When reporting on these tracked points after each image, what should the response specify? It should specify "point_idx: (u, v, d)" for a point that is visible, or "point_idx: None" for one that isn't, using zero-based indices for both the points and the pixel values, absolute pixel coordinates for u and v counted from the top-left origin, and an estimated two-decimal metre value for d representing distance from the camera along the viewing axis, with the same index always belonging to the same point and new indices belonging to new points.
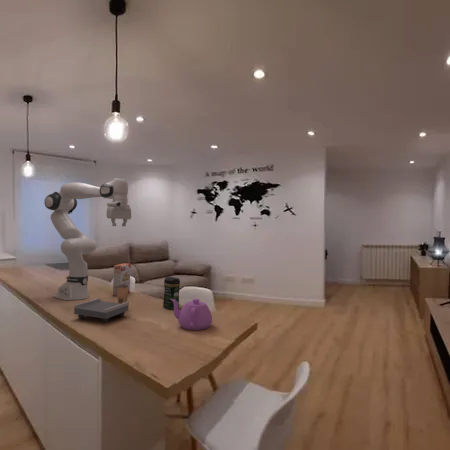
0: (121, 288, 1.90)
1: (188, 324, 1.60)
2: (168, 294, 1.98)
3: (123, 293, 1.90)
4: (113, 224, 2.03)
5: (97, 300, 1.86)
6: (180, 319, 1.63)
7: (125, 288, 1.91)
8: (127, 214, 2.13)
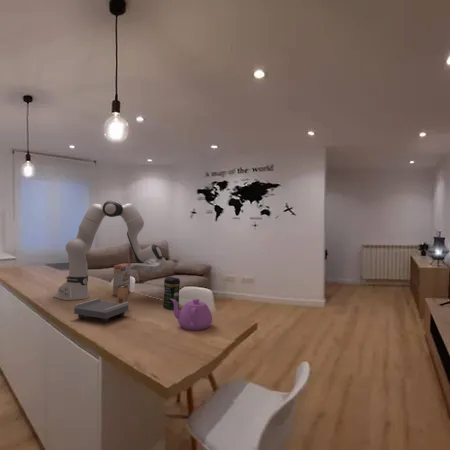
0: (121, 288, 1.90)
1: (188, 324, 1.60)
2: (168, 294, 1.98)
3: (123, 293, 1.90)
4: (146, 269, 2.05)
5: (97, 300, 1.86)
6: (180, 319, 1.63)
7: (125, 288, 1.91)
8: None
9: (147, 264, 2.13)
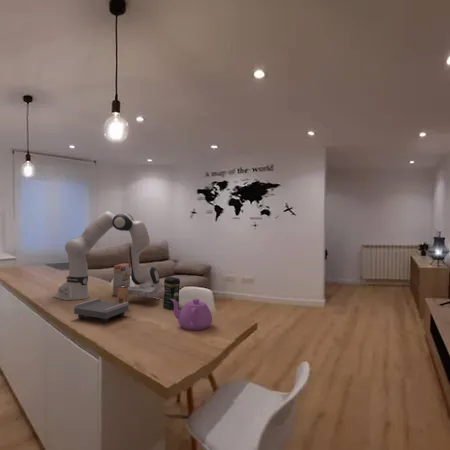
0: (121, 288, 1.90)
1: (188, 324, 1.60)
2: (168, 294, 1.98)
3: (123, 293, 1.90)
4: (140, 294, 2.01)
5: (97, 300, 1.86)
6: (180, 319, 1.63)
7: (125, 288, 1.91)
8: None
9: (142, 289, 2.09)
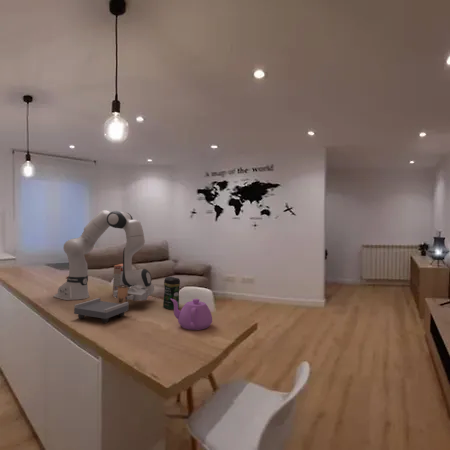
0: (121, 288, 1.90)
1: (188, 324, 1.60)
2: (168, 294, 1.98)
3: (123, 293, 1.90)
4: (128, 297, 1.91)
5: (97, 300, 1.86)
6: (180, 319, 1.63)
7: (125, 288, 1.91)
8: None
9: (132, 291, 1.99)
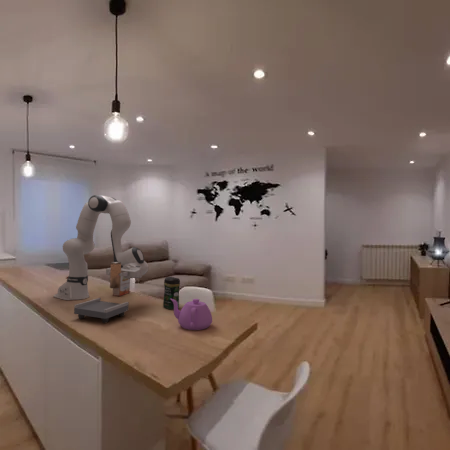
0: (114, 264, 1.83)
1: (188, 324, 1.60)
2: (168, 294, 1.98)
3: (116, 270, 1.83)
4: (122, 274, 1.84)
5: (97, 300, 1.86)
6: (180, 319, 1.63)
7: (118, 264, 1.84)
8: None
9: (126, 269, 1.92)
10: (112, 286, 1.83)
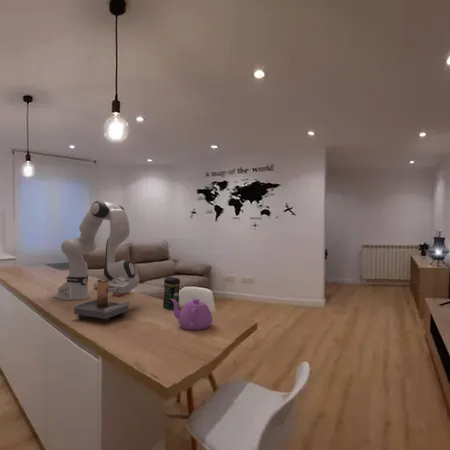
0: (101, 282, 1.74)
1: (188, 324, 1.60)
2: (168, 294, 1.98)
3: (103, 288, 1.74)
4: (111, 290, 1.75)
5: None
6: (180, 319, 1.63)
7: (105, 282, 1.75)
8: None
9: (114, 284, 1.83)
10: (99, 305, 1.74)
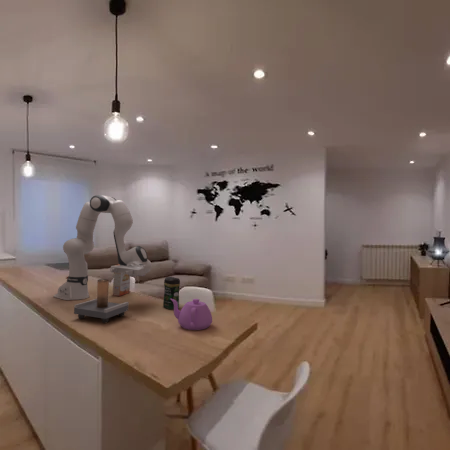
0: (101, 282, 1.74)
1: (188, 324, 1.60)
2: (168, 294, 1.98)
3: (103, 288, 1.74)
4: (128, 272, 1.88)
5: None
6: (180, 319, 1.63)
7: (105, 282, 1.75)
8: None
9: (130, 267, 1.96)
10: (99, 305, 1.74)
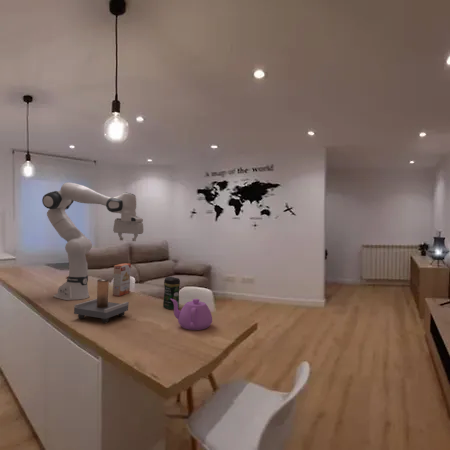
0: (101, 282, 1.74)
1: (188, 324, 1.60)
2: (168, 294, 1.98)
3: (103, 288, 1.74)
4: (135, 239, 2.06)
5: None
6: (180, 319, 1.63)
7: (105, 282, 1.75)
8: None
9: (128, 227, 2.06)
10: (99, 305, 1.74)
